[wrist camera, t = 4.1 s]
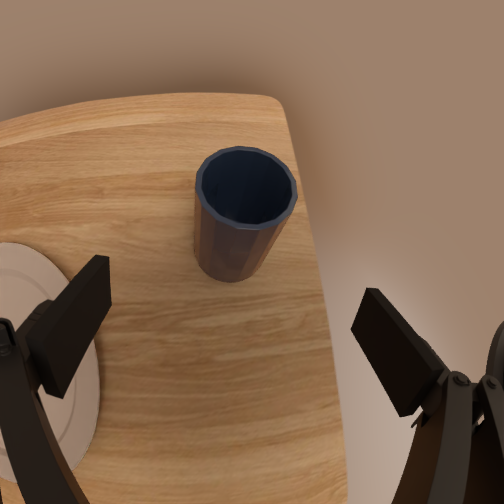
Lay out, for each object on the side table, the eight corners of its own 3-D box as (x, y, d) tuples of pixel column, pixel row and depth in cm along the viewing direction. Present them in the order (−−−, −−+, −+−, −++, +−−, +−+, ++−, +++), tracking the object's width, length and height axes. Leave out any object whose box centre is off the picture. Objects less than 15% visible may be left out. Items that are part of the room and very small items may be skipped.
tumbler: (264, 283, 28) (302, 232, 18) (193, 281, 27) (191, 226, 17) (262, 221, 31) (292, 151, 21) (196, 217, 30) (200, 142, 20)
